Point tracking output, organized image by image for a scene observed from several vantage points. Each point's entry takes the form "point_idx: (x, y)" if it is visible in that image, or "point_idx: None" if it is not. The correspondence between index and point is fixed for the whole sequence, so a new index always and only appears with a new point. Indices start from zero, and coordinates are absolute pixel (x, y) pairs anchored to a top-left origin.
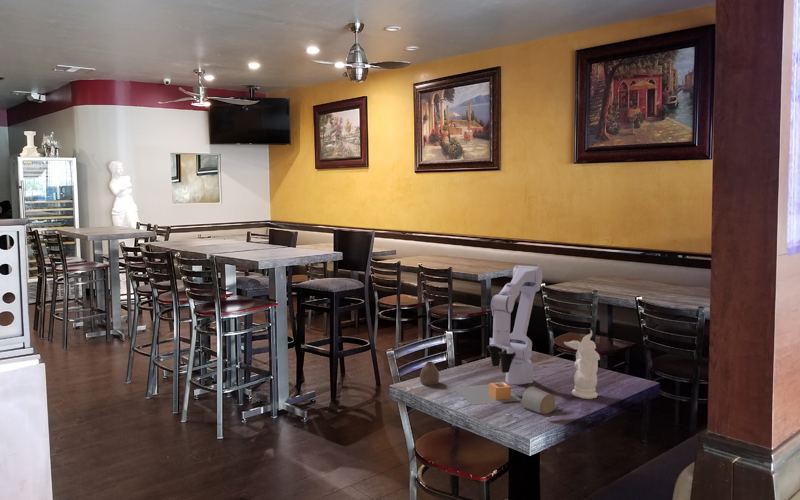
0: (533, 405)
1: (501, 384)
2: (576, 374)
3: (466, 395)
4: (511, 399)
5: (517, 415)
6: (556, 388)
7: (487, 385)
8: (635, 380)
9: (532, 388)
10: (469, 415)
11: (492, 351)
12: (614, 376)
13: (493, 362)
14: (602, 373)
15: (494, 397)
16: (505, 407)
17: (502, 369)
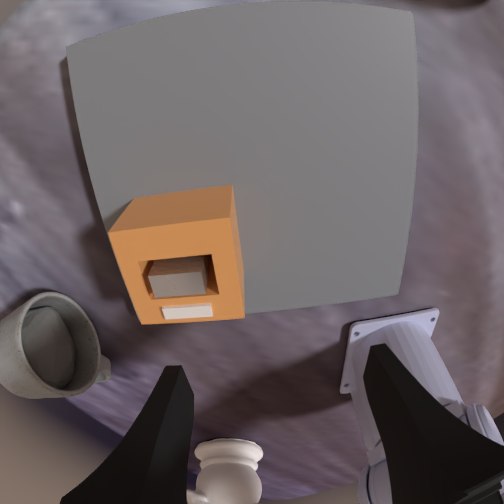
0: (3, 319)
1: (157, 288)
2: (225, 495)
3: (239, 33)
4: None
5: (13, 243)
6: (299, 425)
7: (396, 232)
8: (300, 493)
9: (24, 378)
10: (3, 36)
11: (424, 465)
12: (334, 483)
13: (381, 373)
14: (359, 475)
15: (146, 199)
16: (87, 224)
17: (156, 384)
